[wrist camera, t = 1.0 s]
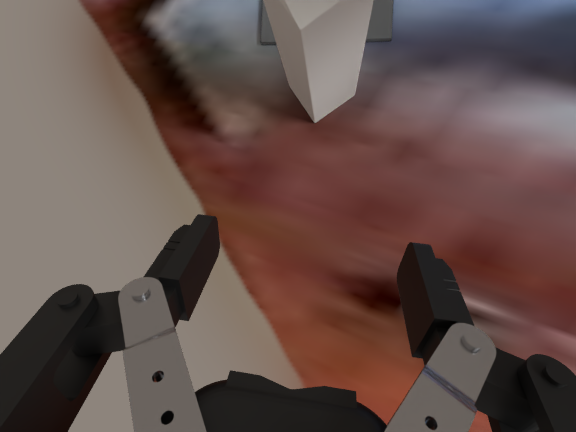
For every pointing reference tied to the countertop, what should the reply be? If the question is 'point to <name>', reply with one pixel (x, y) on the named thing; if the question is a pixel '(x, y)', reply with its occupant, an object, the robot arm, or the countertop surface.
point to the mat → (376, 30)
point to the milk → (320, 48)
